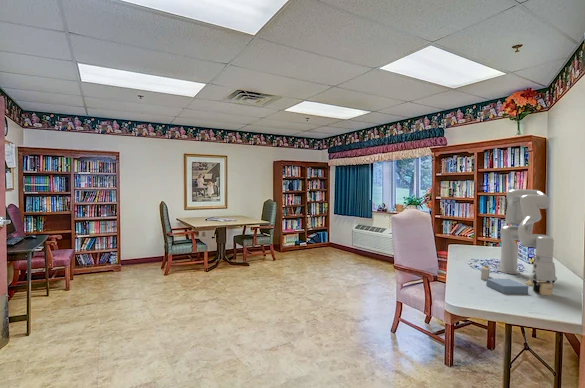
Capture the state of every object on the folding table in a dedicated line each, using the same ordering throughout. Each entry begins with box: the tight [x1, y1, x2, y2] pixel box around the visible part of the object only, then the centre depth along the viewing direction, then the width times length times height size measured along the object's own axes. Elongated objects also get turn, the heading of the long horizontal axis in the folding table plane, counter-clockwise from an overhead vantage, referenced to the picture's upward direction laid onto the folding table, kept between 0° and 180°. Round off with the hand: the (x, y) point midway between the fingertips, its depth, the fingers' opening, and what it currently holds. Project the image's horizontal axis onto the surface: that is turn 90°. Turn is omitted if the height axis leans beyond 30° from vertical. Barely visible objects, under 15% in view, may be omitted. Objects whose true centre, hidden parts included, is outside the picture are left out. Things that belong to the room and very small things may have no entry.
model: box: [480, 264, 491, 281], centre depth 206 cm, size 3×11×8 cm, turn 143°
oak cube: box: [532, 281, 554, 296], centre depth 178 cm, size 6×6×6 cm
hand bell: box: [525, 258, 535, 287], centre depth 193 cm, size 8×8×16 cm
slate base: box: [486, 278, 529, 294], centre depth 183 cm, size 14×14×4 cm
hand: (542, 291), depth 178 cm, fingers closed on oak cube, 6 cm apart
